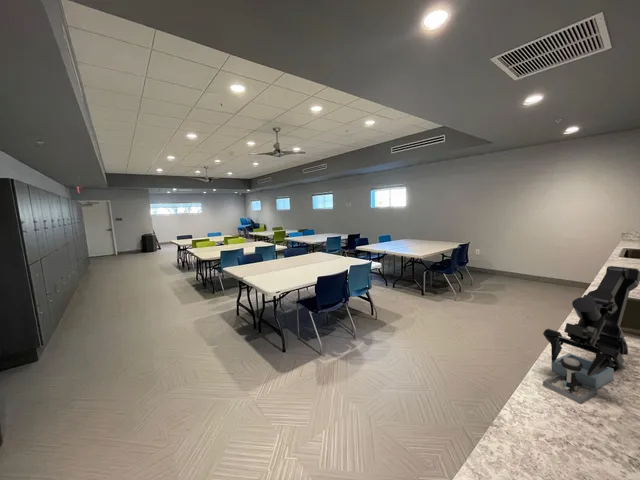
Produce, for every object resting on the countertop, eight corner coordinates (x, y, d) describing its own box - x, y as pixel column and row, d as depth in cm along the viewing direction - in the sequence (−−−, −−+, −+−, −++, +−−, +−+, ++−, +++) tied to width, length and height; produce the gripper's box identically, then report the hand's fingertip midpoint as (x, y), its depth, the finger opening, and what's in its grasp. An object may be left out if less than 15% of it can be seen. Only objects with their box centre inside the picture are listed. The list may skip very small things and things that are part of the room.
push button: (576, 398, 84) (577, 367, 83) (554, 388, 88) (555, 359, 87) (584, 390, 87) (585, 361, 86) (563, 381, 91) (564, 353, 91)
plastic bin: (568, 363, 102) (569, 353, 102) (613, 380, 91) (613, 368, 91) (551, 371, 97) (551, 361, 97) (595, 390, 87) (596, 378, 86)
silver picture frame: (559, 377, 94) (559, 373, 94) (597, 393, 85) (597, 389, 85) (542, 385, 90) (542, 381, 90) (581, 404, 81) (581, 399, 81)
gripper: (546, 306, 96) (527, 342, 92) (621, 324, 79) (601, 370, 75) (558, 323, 100) (539, 359, 96) (631, 344, 83) (612, 388, 79)
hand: (569, 367), depth 87 cm, fingers open, 9 cm apart
